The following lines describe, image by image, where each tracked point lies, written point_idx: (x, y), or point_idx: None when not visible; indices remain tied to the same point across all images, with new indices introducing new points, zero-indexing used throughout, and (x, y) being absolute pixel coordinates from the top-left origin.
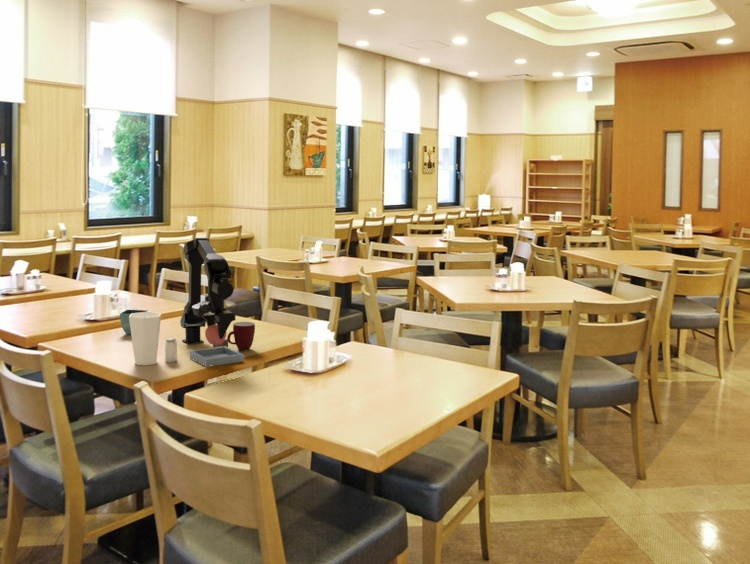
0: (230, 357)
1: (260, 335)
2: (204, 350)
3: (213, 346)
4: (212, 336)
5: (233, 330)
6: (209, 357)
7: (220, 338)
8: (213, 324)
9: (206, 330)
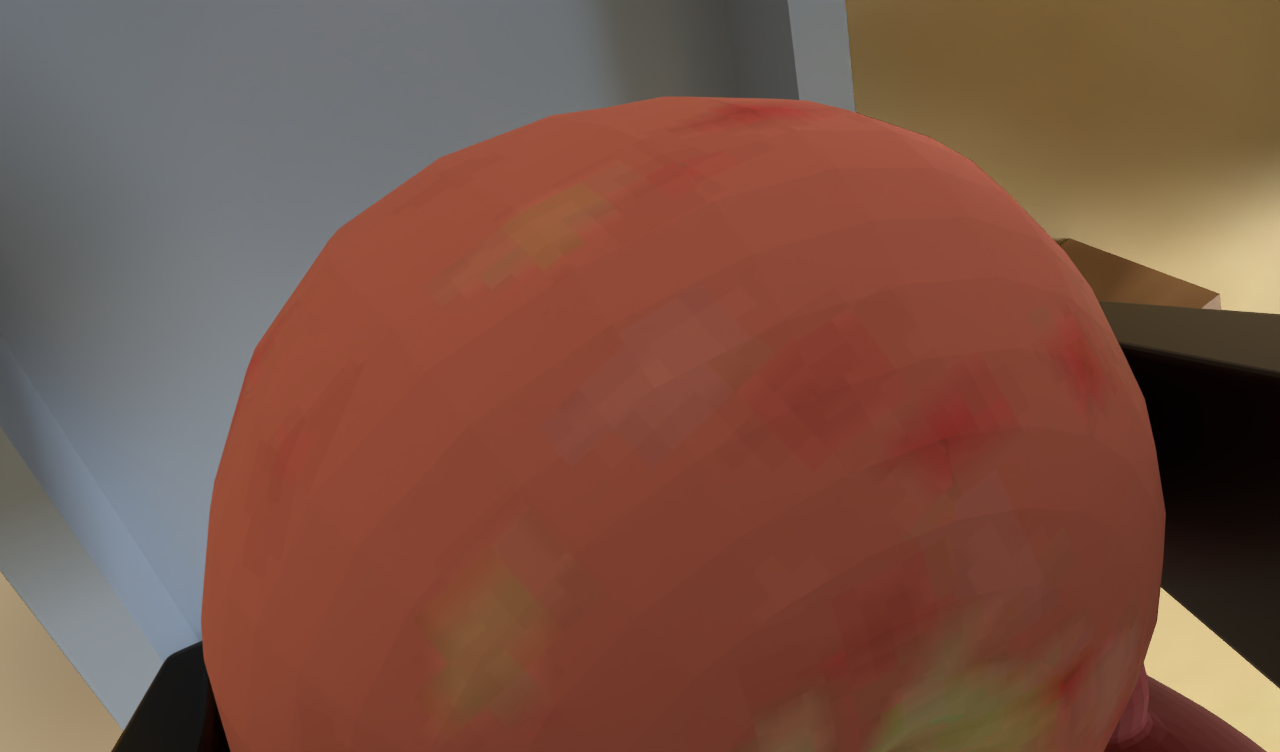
0: (28, 578)
1: (1259, 725)
2: (783, 39)
3: (1102, 260)
4: (240, 410)
5: (1153, 739)
6: (516, 104)
7: (175, 679)
8: (1271, 596)
9: (750, 202)
